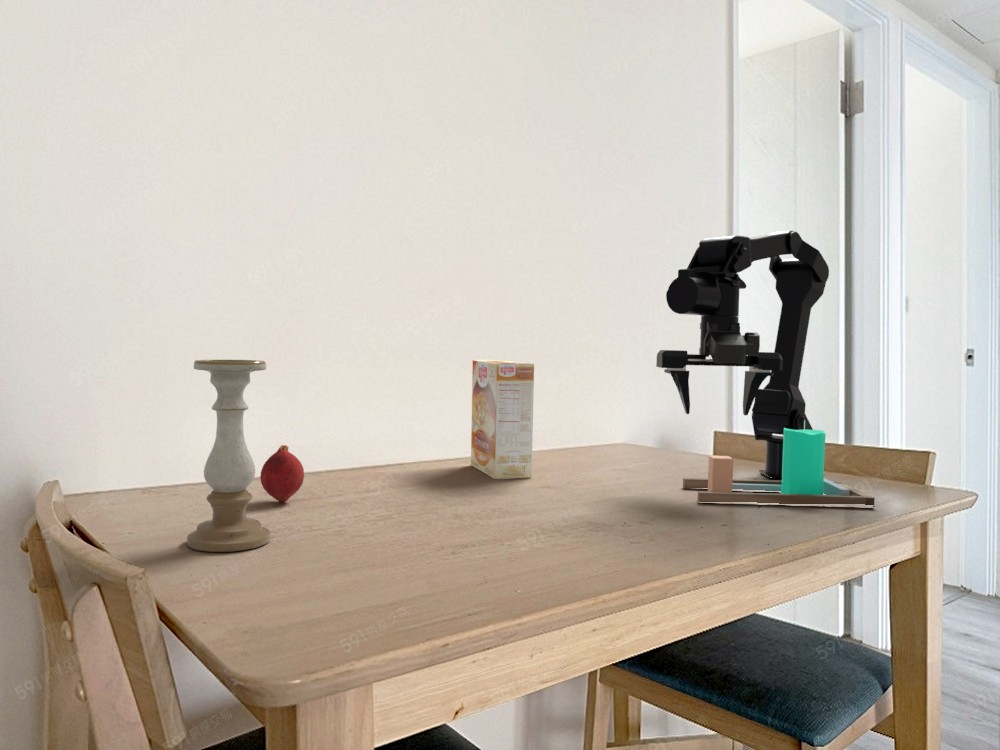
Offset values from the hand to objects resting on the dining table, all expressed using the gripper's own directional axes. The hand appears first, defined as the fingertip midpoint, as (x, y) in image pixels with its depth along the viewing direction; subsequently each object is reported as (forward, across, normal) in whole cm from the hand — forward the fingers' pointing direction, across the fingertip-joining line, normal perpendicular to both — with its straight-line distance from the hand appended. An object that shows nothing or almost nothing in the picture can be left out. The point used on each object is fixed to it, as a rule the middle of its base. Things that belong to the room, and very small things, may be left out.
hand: (716, 414), depth 127 cm
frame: (+12, +8, -6) cm, 15 cm away
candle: (+12, +12, -6) cm, 18 cm away
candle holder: (+12, -64, -40) cm, 76 cm away
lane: (+12, +8, -6) cm, 15 cm away
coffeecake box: (+12, -35, +12) cm, 39 cm away
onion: (+12, -64, -18) cm, 68 cm away
